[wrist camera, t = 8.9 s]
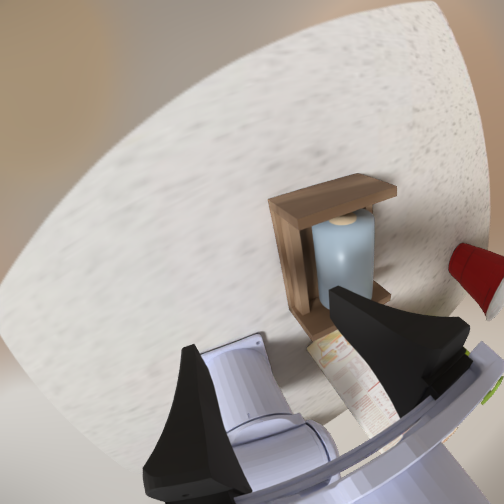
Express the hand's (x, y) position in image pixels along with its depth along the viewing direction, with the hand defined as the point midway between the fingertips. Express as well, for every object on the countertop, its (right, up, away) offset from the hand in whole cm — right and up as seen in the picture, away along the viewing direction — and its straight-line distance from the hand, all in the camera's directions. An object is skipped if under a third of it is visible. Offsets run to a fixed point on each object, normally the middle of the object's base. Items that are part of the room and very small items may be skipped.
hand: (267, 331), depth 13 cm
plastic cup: (+34, +3, +23) cm, 41 cm away
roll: (+7, +5, +11) cm, 14 cm away
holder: (+6, +5, +12) cm, 14 cm away
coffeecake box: (+12, -9, +21) cm, 26 cm away
